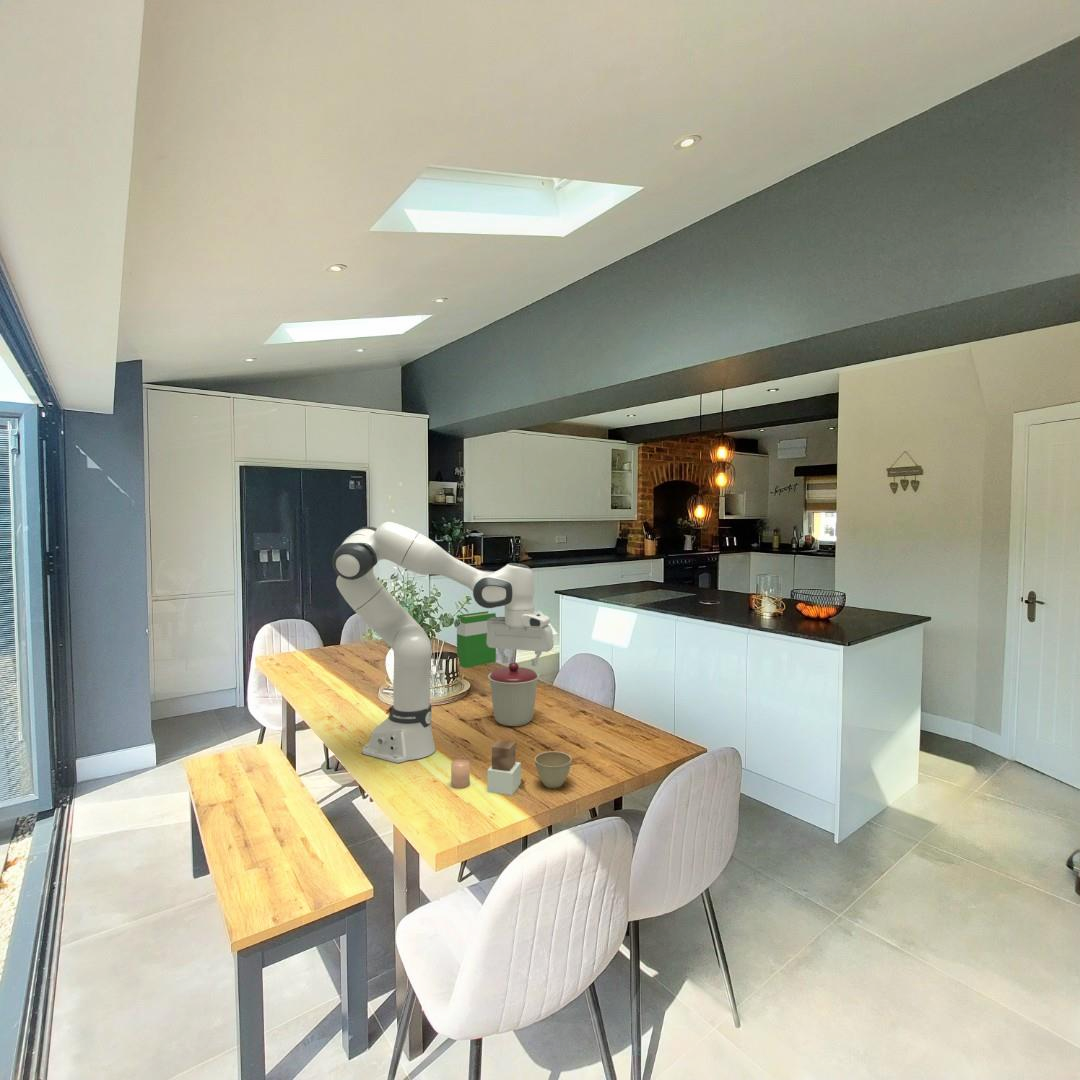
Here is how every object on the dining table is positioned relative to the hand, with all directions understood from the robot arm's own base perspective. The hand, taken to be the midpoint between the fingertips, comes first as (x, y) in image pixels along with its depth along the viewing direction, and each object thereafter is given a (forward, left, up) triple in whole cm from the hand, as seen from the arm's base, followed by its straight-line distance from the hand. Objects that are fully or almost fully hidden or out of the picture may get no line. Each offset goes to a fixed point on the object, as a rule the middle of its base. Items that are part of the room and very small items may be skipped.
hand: (519, 664), depth 178 cm
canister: (-13, +30, -29) cm, 44 cm away
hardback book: (-58, +100, -29) cm, 119 cm away
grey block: (+2, -18, -29) cm, 34 cm away
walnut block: (+2, -18, -23) cm, 30 cm away
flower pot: (+14, -12, -29) cm, 35 cm away
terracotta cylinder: (-10, -20, -29) cm, 37 cm away
